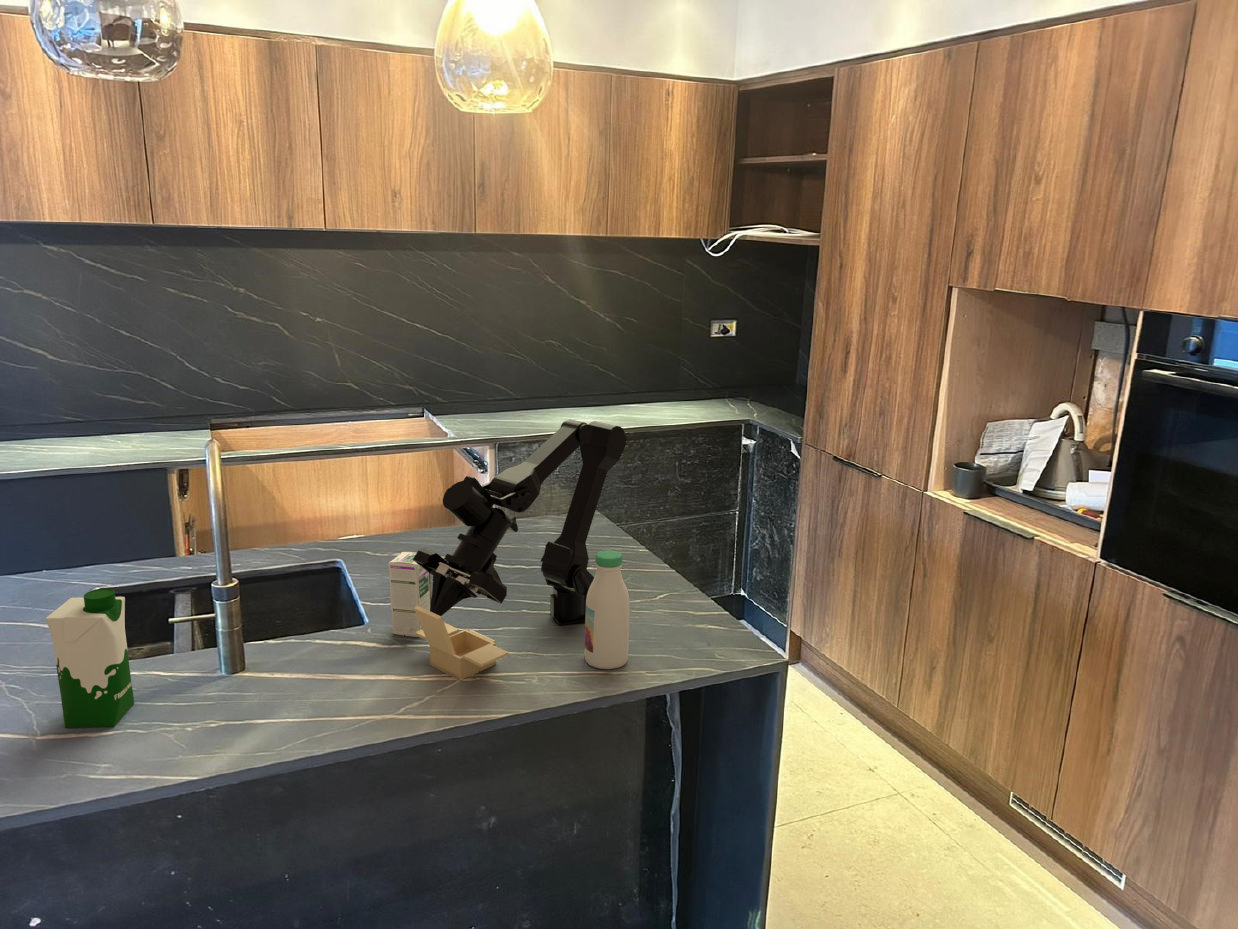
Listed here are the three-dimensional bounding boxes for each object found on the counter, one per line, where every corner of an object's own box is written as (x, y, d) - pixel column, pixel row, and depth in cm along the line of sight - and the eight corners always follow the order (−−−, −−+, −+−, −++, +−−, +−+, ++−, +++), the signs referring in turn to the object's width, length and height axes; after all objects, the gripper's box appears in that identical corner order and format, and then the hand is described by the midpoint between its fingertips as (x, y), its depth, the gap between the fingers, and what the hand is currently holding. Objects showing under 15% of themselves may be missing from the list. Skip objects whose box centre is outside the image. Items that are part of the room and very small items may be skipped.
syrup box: (420, 638, 167) (418, 564, 163) (390, 634, 168) (387, 561, 164) (433, 625, 172) (431, 553, 168) (404, 621, 173) (401, 550, 169)
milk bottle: (633, 654, 162) (637, 549, 157) (619, 673, 155) (622, 564, 150) (593, 647, 165) (595, 543, 160) (577, 666, 158) (579, 558, 153)
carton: (451, 640, 166) (451, 618, 165) (517, 671, 155) (517, 648, 154) (413, 656, 160) (412, 633, 158) (478, 690, 149) (478, 665, 148)
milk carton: (118, 730, 134) (102, 605, 129) (54, 731, 134) (35, 606, 128) (143, 700, 143) (128, 582, 138) (83, 701, 142) (66, 582, 137)
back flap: (431, 641, 155) (417, 605, 151) (455, 653, 151) (441, 616, 147) (428, 644, 154) (414, 608, 150) (452, 656, 150) (438, 619, 146)
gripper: (544, 576, 155) (496, 656, 149) (472, 549, 166) (425, 623, 161) (509, 544, 147) (458, 628, 142) (436, 518, 158) (386, 595, 153)
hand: (432, 619), depth 150 cm, fingers closed, pressing on back flap
